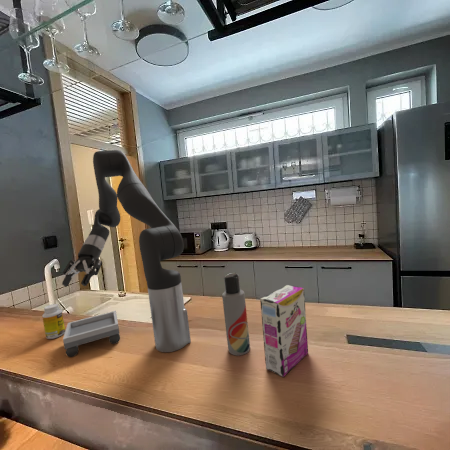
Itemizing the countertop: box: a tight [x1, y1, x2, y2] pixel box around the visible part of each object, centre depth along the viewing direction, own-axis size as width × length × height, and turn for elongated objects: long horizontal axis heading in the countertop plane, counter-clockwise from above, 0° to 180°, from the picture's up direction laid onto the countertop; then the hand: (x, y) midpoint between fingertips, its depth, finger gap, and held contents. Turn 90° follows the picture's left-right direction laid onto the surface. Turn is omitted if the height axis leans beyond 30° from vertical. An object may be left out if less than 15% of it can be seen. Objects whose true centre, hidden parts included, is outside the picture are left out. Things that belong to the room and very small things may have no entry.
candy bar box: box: [259, 284, 309, 378], centre depth 59 cm, size 11×5×16 cm, turn 135°
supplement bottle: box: [41, 303, 66, 340], centre depth 86 cm, size 6×6×10 cm
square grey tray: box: [62, 310, 121, 358], centre depth 79 cm, size 14×12×6 cm
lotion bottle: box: [221, 272, 251, 356], centre depth 66 cm, size 6×6×20 cm
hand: (74, 285), depth 95 cm, fingers open, 8 cm apart
